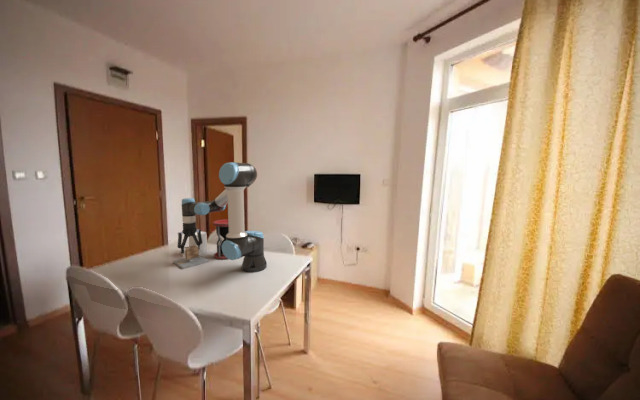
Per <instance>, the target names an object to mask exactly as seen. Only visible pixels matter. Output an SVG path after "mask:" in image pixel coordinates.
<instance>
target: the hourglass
mask: <svg viewBox="0 0 640 400" xmlns="http://www.w3.org/2000/svg"><path fill="white" fill-rule="evenodd" d="M212 225H213V226H215V230H216V236H217V239H218V240H217V242H216V252H215V253H214V254H213V256H214V259H216V260H229V259H228V258H226V257H225V255H224V254H223V252H222V244H223V242H224V241H226V235H227V234H228V233H229V225H228V219H218V220H214V221H213V222H212ZM222 238H223V240H222Z"/></svg>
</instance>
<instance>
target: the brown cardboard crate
mask: <svg viewBox="0 0 640 400" xmlns="http://www.w3.org/2000/svg"><path fill="white" fill-rule="evenodd" d="M184 248H185V252H186V259H191V258H195V257H199V255H200V254H199V248H198V247H196V246H189V245H188V246H186V247H184Z"/></svg>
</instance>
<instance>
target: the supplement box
mask: <svg viewBox="0 0 640 400" xmlns="http://www.w3.org/2000/svg"><path fill="white" fill-rule="evenodd" d="M195 235H196V238H197V240H198V242H199V239H198V234H197V231H196V233H195ZM201 238H202V244H200V249H199V255H201V254H205V253H208V242H207V241H208V239H207V238H208V236H207V232H206V231H202V230H201ZM195 245H197V244H196V242H195V240H194V238H193V236H190V237H188V247H189V246H195Z"/></svg>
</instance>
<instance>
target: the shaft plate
mask: <svg viewBox="0 0 640 400" xmlns="http://www.w3.org/2000/svg"><path fill="white" fill-rule="evenodd" d="M209 262H210V260H209V259H207V258H206V257H203V256H202V255H201V254H199V257H195V258H191V259H186V258H185V259H184V258H183V257H182V258H178V259H175V260H173V264H175V265H176V266H177V267H179V268H181V269H182V270H184V269H187V268H191V267H195V266H199V265H203V264H206V263H209Z"/></svg>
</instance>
